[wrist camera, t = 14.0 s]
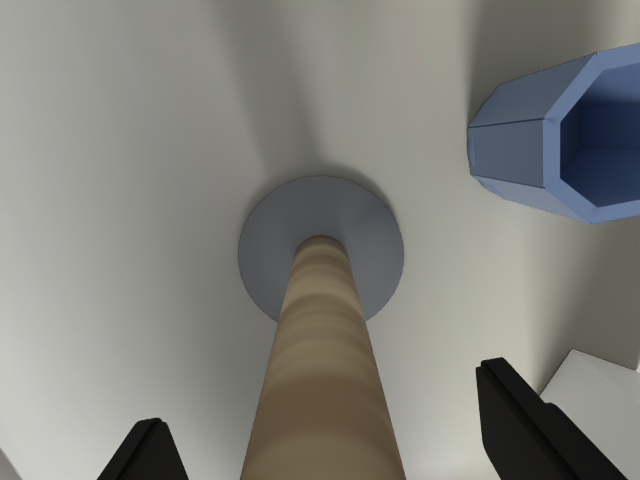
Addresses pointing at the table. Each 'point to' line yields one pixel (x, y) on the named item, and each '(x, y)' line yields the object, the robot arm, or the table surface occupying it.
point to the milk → (601, 406)
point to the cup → (565, 138)
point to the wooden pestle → (322, 382)
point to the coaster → (320, 219)
